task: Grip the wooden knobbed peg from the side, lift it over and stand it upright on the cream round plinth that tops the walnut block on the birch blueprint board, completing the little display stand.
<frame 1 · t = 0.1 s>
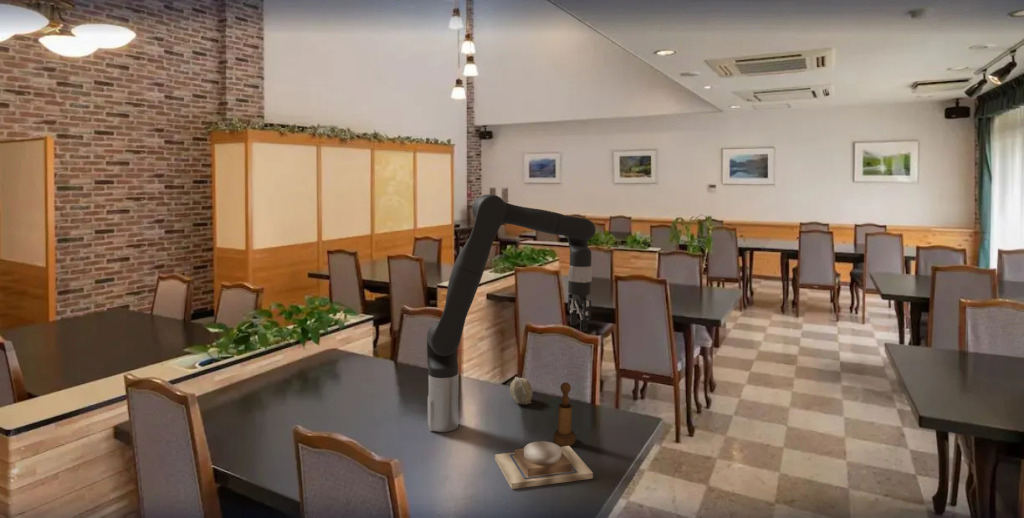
hand: (578, 328, 200), 29 cm above the table, tool pointing down, fingers open, 8 cm apart
wooden knobbed peg: (564, 442, 181), on the table
garlic bulb: (521, 402, 214), on the table
blueprint stand: (542, 468, 163), on the table
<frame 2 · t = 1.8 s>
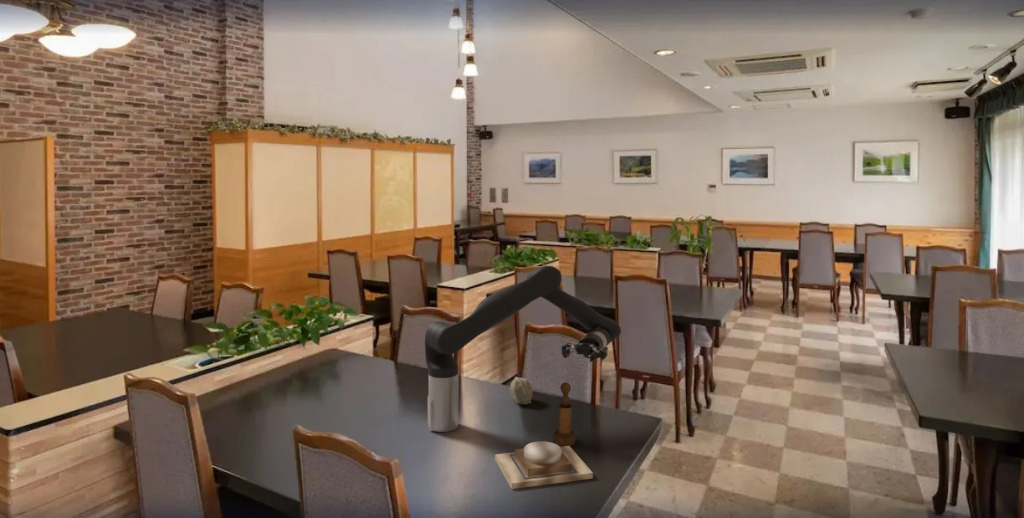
hand: (577, 356, 188), 23 cm above the table, tool horizontal, fingers open, 8 cm apart
nothing on the table moved.
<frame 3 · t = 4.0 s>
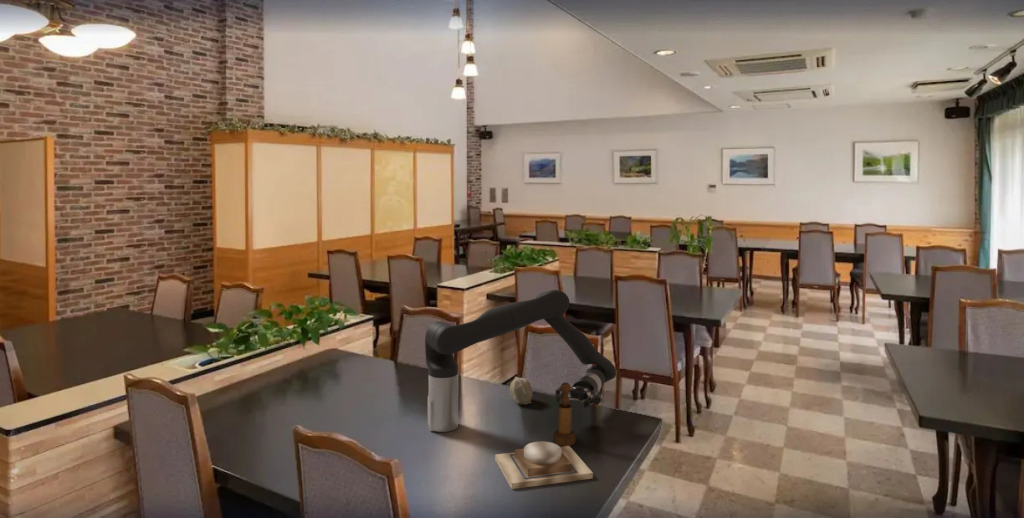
hand: (571, 402, 186), 10 cm above the table, tool horizontal, fingers open, 8 cm apart
nothing on the table moved.
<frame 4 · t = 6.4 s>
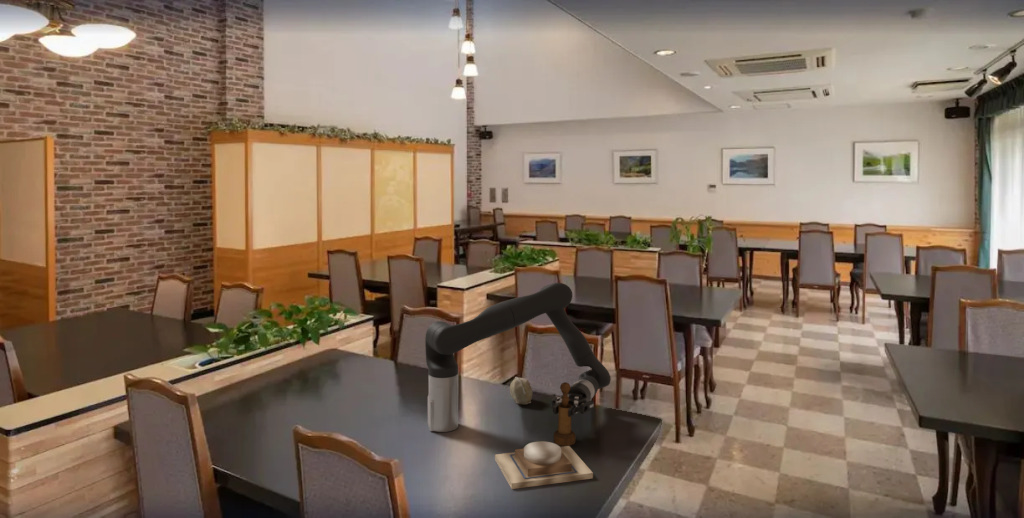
hand: (562, 412, 177), 10 cm above the table, tool horizontal, fingers closed on wooden knobbed peg, 4 cm apart
wooden knobbed peg: (564, 441, 181), on the table, touching gripper
everything else where it was.
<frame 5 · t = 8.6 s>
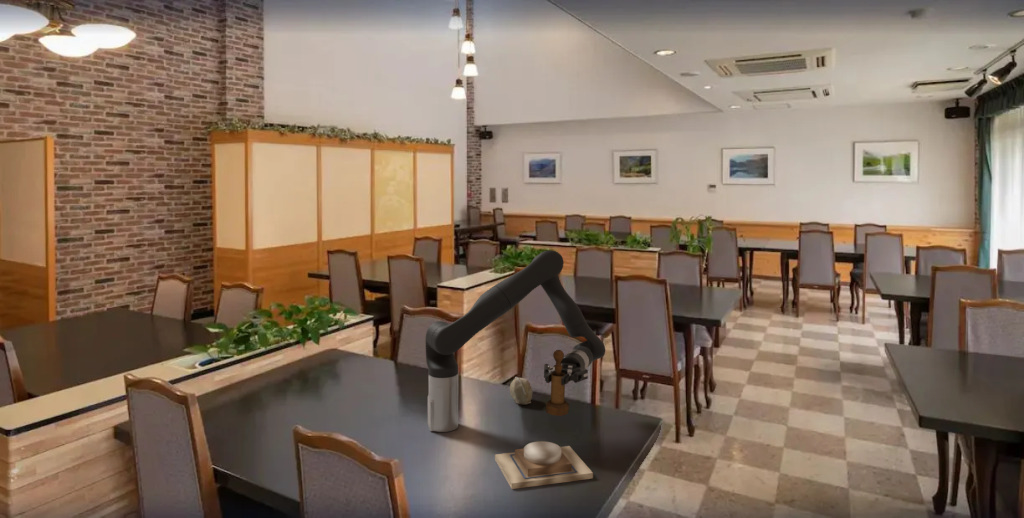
hand: (555, 380, 170), 22 cm above the table, tool horizontal, fingers closed on wooden knobbed peg, 4 cm apart
wooden knobbed peg: (557, 412, 174), point 11 cm above the table, touching gripper
everything else where it was.
when the fingers open (17 cm above the table, at t = 11.2 s): wooden knobbed peg stays where it is, resting on blueprint stand.
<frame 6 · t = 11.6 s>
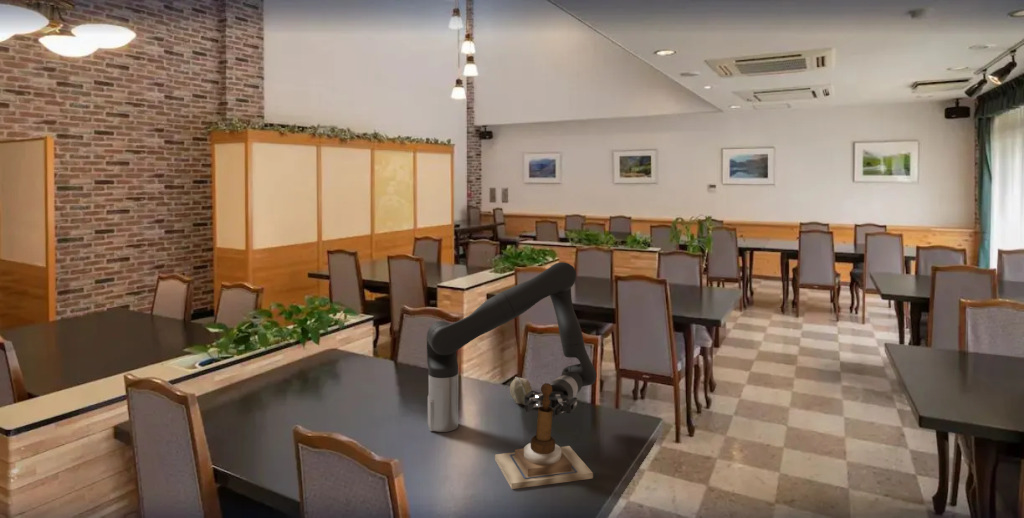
hand: (540, 410, 159), 17 cm above the table, tool horizontal, fingers open, 7 cm apart
wooden knobbed peg: (542, 449, 163), point 5 cm above the table, touching blueprint stand
everything else where it was.
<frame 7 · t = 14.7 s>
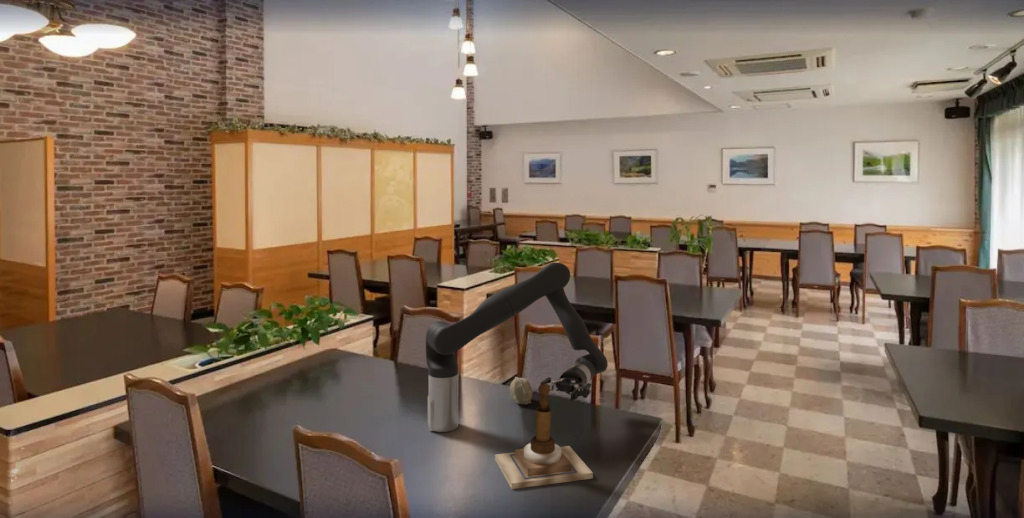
hand: (557, 395, 171), 17 cm above the table, tool horizontal, fingers open, 8 cm apart
nothing on the table moved.
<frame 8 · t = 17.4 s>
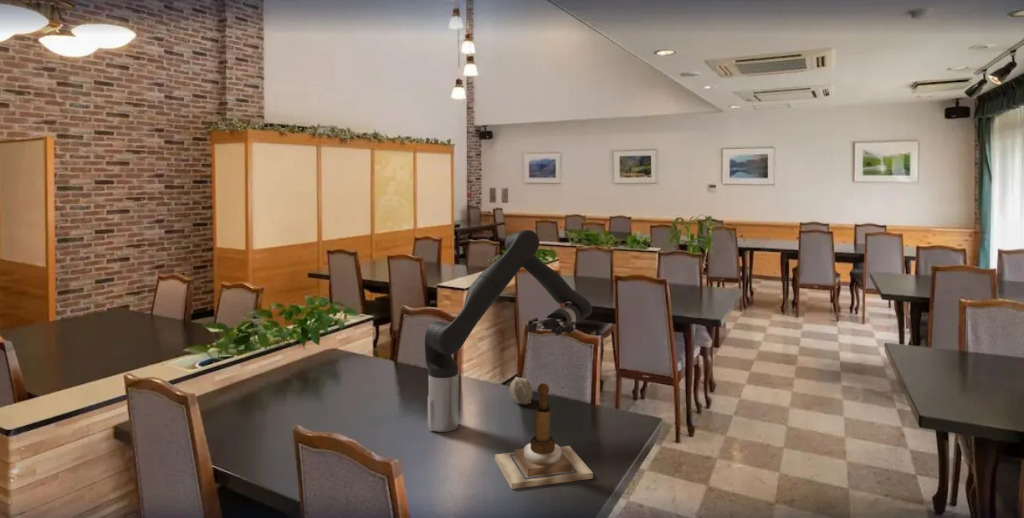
hand: (543, 330, 184), 32 cm above the table, tool horizontal, fingers open, 8 cm apart
nothing on the table moved.
at the end: wooden knobbed peg 0.2 cm off-centre on the blueprint stand, point 5.3 cm above the blueprint stand's base; wooden knobbed peg tilted 1°; the gripper is holding nothing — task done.
